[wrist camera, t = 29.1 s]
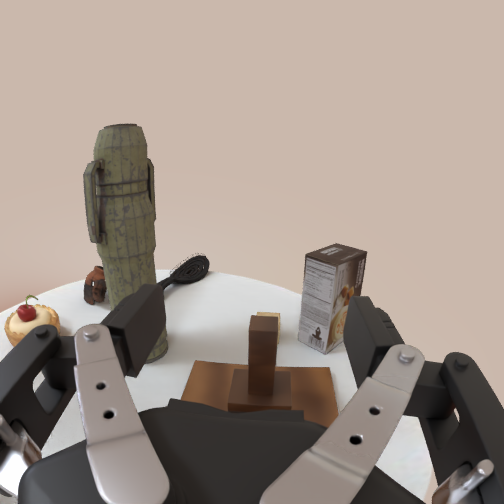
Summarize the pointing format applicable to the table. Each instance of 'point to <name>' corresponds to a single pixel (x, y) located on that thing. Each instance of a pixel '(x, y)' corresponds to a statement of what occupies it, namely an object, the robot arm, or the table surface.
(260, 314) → the light tan wooden block
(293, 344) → the table surface
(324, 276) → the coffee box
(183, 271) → the hairbrush
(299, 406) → the cutting board
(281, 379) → the wooden post on base
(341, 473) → the robot arm
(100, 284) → the brown looped piece
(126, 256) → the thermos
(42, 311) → the pastry
